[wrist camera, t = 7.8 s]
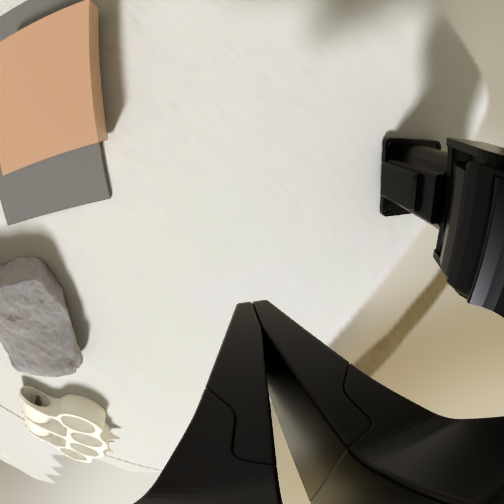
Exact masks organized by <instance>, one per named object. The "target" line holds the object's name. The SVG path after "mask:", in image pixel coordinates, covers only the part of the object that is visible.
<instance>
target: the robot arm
mask: <svg viewBox="0 0 504 504" xmlns="http://www.w3.org/2000/svg"><path fill="white" fill-rule="evenodd" d="M388 142H390V146H388ZM435 146H436V147H435ZM447 146H448V152H444V151H441V145H440V143H439V142H438V141H434V140H423V139H408V138H389V137H387V138H385V139H384V140H383V154H382V173H381V201H380V213H381V214H382V215H384V216H394V215H402V214H410V213H412V214H414V215H416V216H418V217H419V218H421V219H423V220H424V221H426V222H428V223H429V224H431V225H433V226H434V227H436V228H438V229H439V234H438V240H437V245H436V249H435V250H434V254H433V257H434V259H435V260H436V262H437V263H438V265H439V266H440V268H441V269H442V271H443V272H444V274H445V275H446V277H447V279H446V281H447V282H448V284H449V285H450V286H452V287H453V288H454V289H455V291H456V292H457V293H459V295H460V296H462V297H464V298H466V299H468V300H467V302H468V303H469V304H473V305H477V306H481V307H484V308H487V309H489V310H492V311H494V312H495V313H497V314H499V315H501V316H502V317H504V148H502V147H499V146H495V145H491V144H488V143H484V142H478V141H471V140H464V139H456V138H447ZM386 208H387V211H386V212H385V209H386ZM269 395H270V398H271V401H272V404H273V406H274V409H275V412H276V414H277V417H278V420H279V423H280V426H281V428H282V431H283V434H284V436H285V439H286V441H287V444H288V447H289V449H290V452H291V455H292V457H293V460H294V462H295V465H296V468H297V470H298V472H299V475H300V478H301V480H302V483H303V485H304V488H305V490H306V493H307V495H308V498H309V500H310V501H311V504H504V416H503V417H493V418H478V419H451V418H446V417H443V416H440V415H437V414H435V413H433V412H431V411H429V410H427V409H425V408H423V407H421V406H419V405H417V404H416V403H414V402H412V401H410V400H408V399H406V398H404V397H403V396H401V395H399V394H397V393H395V392H393V391H392V390H390V389H388V388H387V387H385V386H383V385H382V384H380V383H378V382H377V381H375V380H373V379H372V378H371V377H369V376H368V375H366V374H365V373H363V372H362V371H361V370H359V369H358V368H356V367H355V366H354V365H352V364H349V362H348V361H347V360H345V359H344V358H343V357H341V356H340V355H338V354H337V353H336V352H334V351H333V350H332V349H331V348H329V347H328V346H327V345H325V344H324V343H323V342H321V341H320V340H319V339H317V338H316V337H315V336H313V335H312V334H311V333H309V332H308V331H307V330H305V329H304V328H303V327H301V326H300V325H299V324H297V323H296V322H295V321H294V320H292V319H291V318H290V317H288V316H287V315H286V314H284V313H283V312H282V311H281V310H279V309H278V308H277V307H275V306H274V305H273V304H271V303H270V302H269V301H267V300H261V301H254V302H253V303H251V302H245V303H238V304H237V305H236V308H235V311H234V313H233V316H232V319H231V321H230V324H229V326H228V329H227V332H226V334H225V337H224V340H223V342H222V345H221V348H220V350H219V353H218V356H217V358H216V361H215V364H214V366H213V369H212V371H211V374H210V377H209V379H208V382H207V385H206V389H205V390H204V392H203V395H202V397H201V400H200V402H199V405H198V407H197V409H196V412H195V414H194V416H193V418H192V420H191V422H190V424H189V426H188V428H187V430H186V432H185V433H184V435H183V437H182V439H181V440H180V442H179V444H178V446H177V447H176V449H175V451H174V452H173V454H172V456H171V457H170V459H169V461H168V462H167V464H166V466H165V467H164V469H163V471H162V472H161V474H160V476H159V477H158V479H157V480H156V482H155V483H154V484H153V486H152V487H151V488H150V489H149V491H148V492H147V493H146V494H145V495H144V496H143V497H142V498H140V499H139V500H138V501H137V502H135V503H134V504H283V503H282V499H281V494H280V488H279V481H278V473H277V468H276V456H275V446H274V436H273V427H272V418H271V408H270V399H269Z"/></svg>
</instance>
